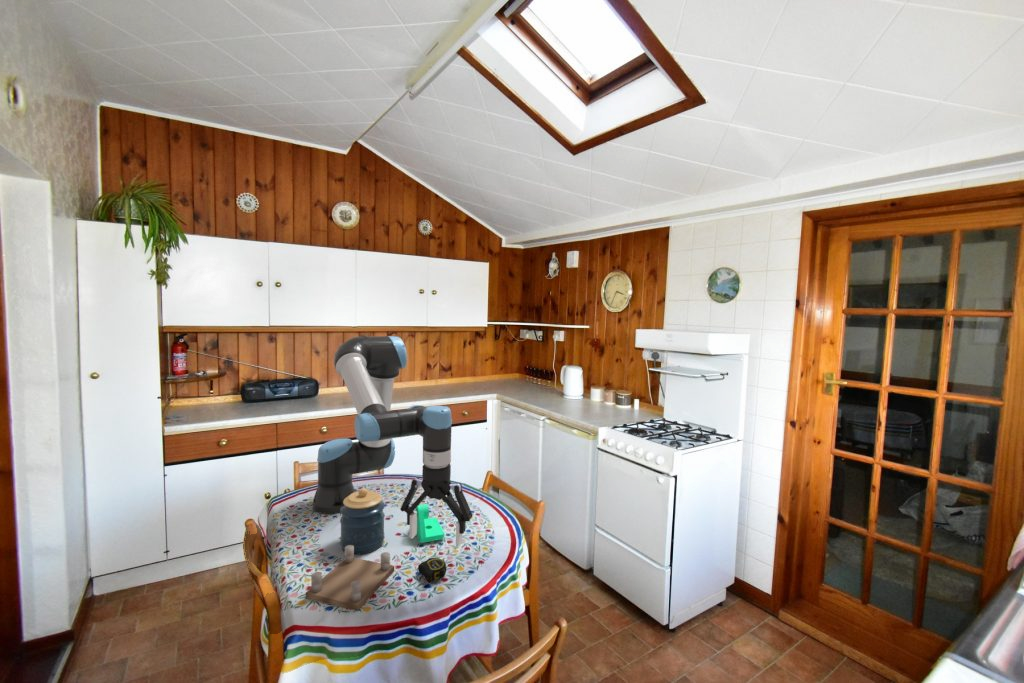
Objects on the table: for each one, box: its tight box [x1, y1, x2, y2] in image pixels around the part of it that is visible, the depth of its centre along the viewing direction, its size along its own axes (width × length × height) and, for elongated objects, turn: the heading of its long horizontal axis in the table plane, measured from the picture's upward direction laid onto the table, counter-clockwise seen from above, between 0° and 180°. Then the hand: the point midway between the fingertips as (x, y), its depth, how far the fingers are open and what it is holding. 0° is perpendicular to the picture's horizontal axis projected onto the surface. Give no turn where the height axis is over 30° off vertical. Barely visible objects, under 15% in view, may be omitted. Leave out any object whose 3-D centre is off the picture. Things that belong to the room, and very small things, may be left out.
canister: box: [339, 487, 386, 555], centre depth 136 cm, size 13×13×18 cm
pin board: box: [305, 545, 395, 612], centre depth 117 cm, size 15×17×6 cm
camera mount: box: [414, 503, 445, 544], centre depth 143 cm, size 12×8×10 cm, turn 24°
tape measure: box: [417, 557, 447, 584], centre depth 121 cm, size 7×7×4 cm
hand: (435, 540), depth 120 cm, fingers open, 13 cm apart
